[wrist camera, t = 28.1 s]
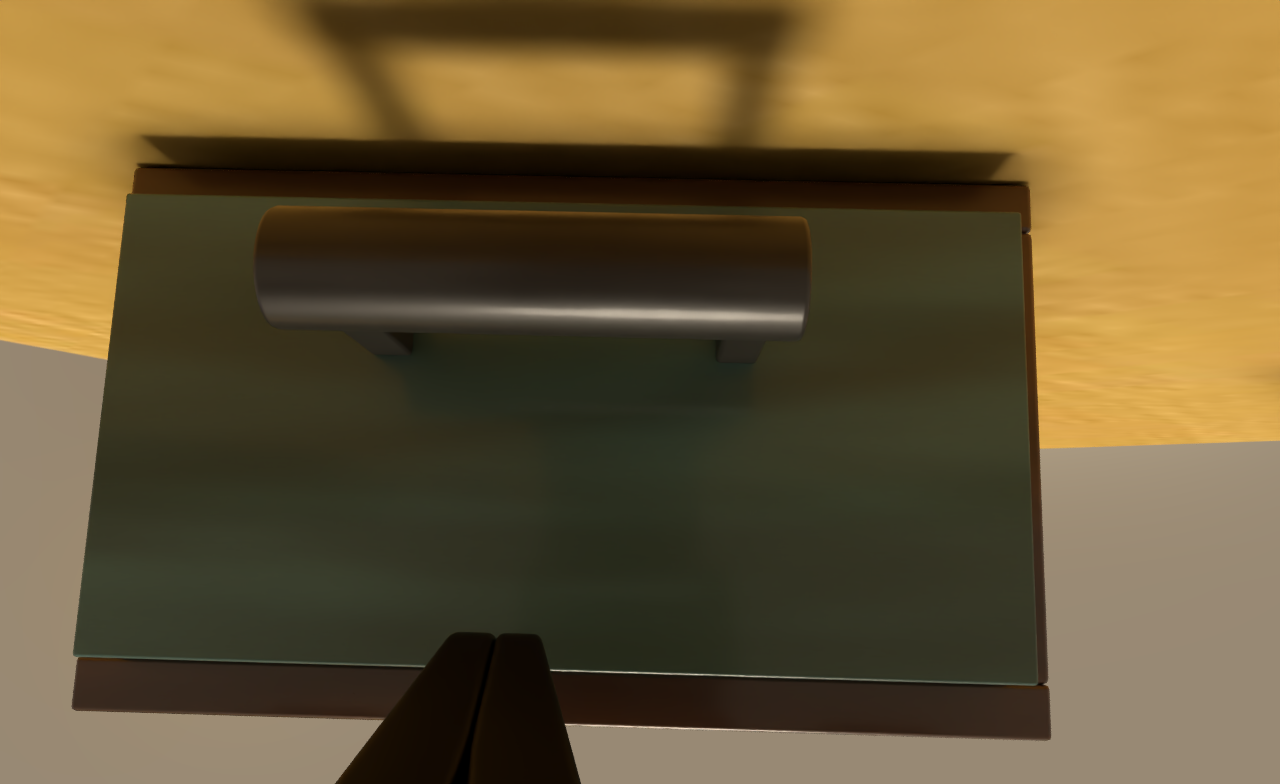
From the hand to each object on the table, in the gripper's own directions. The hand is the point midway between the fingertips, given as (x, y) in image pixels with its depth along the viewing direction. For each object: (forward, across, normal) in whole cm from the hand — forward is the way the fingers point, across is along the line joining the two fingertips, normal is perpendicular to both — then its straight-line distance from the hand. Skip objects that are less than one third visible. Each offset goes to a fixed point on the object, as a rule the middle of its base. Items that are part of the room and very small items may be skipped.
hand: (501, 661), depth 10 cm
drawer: (+10, 0, +1) cm, 10 cm away
